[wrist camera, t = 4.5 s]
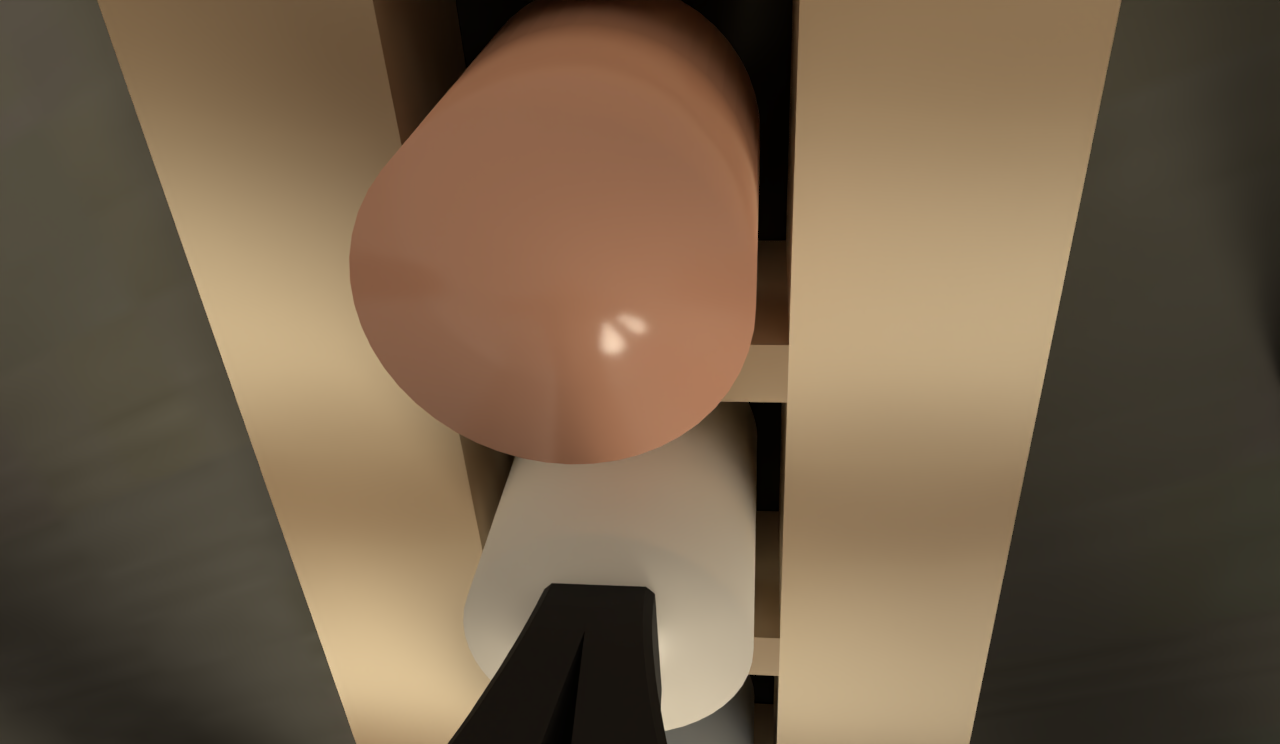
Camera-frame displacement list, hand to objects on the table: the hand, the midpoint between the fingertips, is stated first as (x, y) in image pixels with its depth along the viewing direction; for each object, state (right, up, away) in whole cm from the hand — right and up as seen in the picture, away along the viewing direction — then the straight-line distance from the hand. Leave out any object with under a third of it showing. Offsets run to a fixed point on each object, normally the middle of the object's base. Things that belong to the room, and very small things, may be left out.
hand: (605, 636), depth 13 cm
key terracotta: (0, +7, 0) cm, 7 cm away
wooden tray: (+1, +3, +4) cm, 5 cm away
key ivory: (0, +2, +4) cm, 4 cm away
